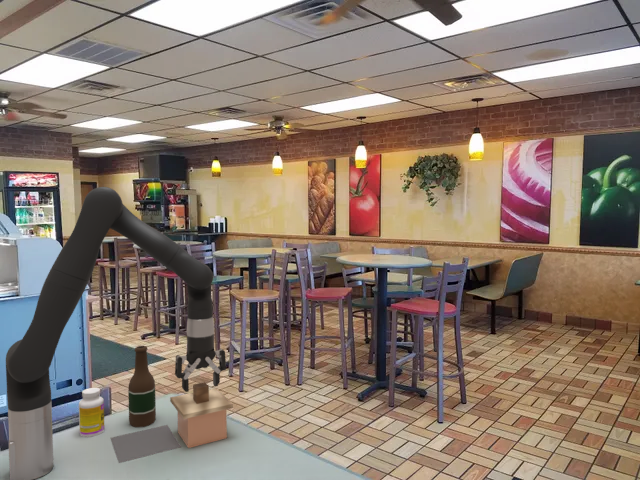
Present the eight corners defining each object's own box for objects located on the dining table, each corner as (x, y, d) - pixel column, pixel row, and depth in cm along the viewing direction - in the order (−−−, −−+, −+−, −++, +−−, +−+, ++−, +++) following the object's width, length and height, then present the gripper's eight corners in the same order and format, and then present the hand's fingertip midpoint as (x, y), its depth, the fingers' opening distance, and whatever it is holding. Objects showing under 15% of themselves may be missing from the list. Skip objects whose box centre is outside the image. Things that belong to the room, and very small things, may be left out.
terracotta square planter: (188, 449, 129) (187, 415, 128) (177, 433, 138) (177, 402, 137) (226, 439, 134) (226, 407, 134) (214, 424, 144) (213, 394, 143)
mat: (118, 464, 121) (118, 463, 121) (110, 439, 134) (110, 437, 134) (181, 448, 129) (181, 446, 129) (167, 426, 143) (167, 424, 143)
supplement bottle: (105, 435, 137) (103, 392, 136) (79, 440, 134) (78, 396, 133) (104, 426, 143) (102, 384, 142) (79, 430, 140) (78, 388, 139)
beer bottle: (123, 427, 142) (121, 349, 141) (140, 416, 150) (138, 342, 148) (145, 430, 140) (143, 351, 139) (161, 419, 147) (159, 344, 146)
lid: (183, 419, 126) (183, 398, 126) (170, 401, 138) (170, 382, 138) (232, 407, 133) (232, 388, 133) (216, 391, 145) (216, 373, 145)
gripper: (178, 339, 128) (179, 397, 128) (228, 332, 135) (229, 387, 136) (171, 333, 134) (172, 389, 135) (220, 327, 141) (220, 379, 142)
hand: (201, 388), depth 135 cm, fingers open, 8 cm apart
